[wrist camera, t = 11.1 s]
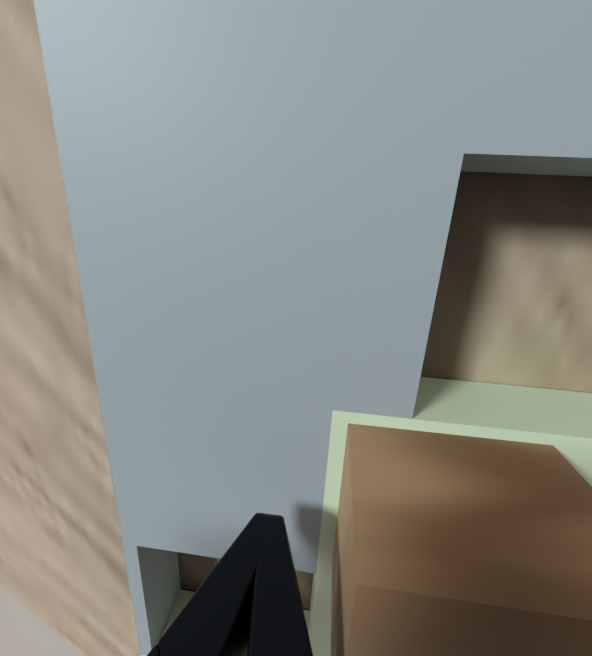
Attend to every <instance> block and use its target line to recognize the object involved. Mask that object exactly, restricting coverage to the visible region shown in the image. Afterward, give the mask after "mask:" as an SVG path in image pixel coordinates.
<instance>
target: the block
mask: <svg viewBox="0 0 592 656" xmlns="http://www.w3.org/2000/svg"><path fill="white" fill-rule="evenodd" d="M331 656H592V486H591V485H590V484H589V483H588V482H587V481H586V480H585V479H584V478H583V477H582V476H581V475H580V474H579V473H578V471H577V470H576V469H575V468H574V467H573V466H572V465H571V464H570V463H569V462H568V461H567V460H566V459H565V458H564V457H563V455H562V454H561V453H560V452H559V451H558V450H557V449H556V448H555V447H554V446H553V445H545V444H535V443H526V442H517V441H508V440H498V439H489V438H480V437H471V436H461V435H452V434H443V433H434V432H425V431H415V430H406V429H397V428H388V427H378V426H369V425H360V424H351V423H348V428H347V436H346V445H345V454H344V462H343V471H342V479H341V488H340V497H339V505H338V514H337V523H336V531H335V540H334V549H333V557H332V607H331Z"/></svg>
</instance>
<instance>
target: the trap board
mask: <svg viewBox="0 0 592 656" xmlns="http://www.w3.org/2000/svg"><path fill="white" fill-rule="evenodd" d="M34 6H35V12H36V19H37V25H38V31H39V37H40V43H41V49H42V55H43V61H44V67H45V74H46V80H47V86H48V92H49V98H50V104H51V110H52V116H53V122H54V129H55V135H56V141H57V147H58V153H59V159H60V165H61V171H62V177H63V184H64V190H65V196H66V202H67V208H68V214H69V220H70V226H71V232H72V239H73V245H74V251H75V257H76V263H77V269H78V275H79V281H80V287H81V294H82V300H83V306H84V312H85V318H86V324H87V330H88V336H89V342H90V349H91V355H92V361H93V367H94V373H95V379H96V385H97V391H98V397H99V404H100V410H101V416H102V422H103V428H104V434H105V440H106V446H107V452H108V459H109V465H110V471H111V477H112V483H113V489H114V495H115V501H116V507H117V514H118V520H119V526H120V532H121V538H122V544H123V550H124V556H125V562H126V569H127V575H128V581H129V587H130V593H131V599H132V605H133V611H134V617H135V624H136V630H137V636H138V642H139V648H140V654H141V656H147V655H148V653H149V652H150V651H151V649H152V648H153V647H154V646H155V645H156V644H158V641H159V639H160V638H161V637H162V635H163V634H164V633H165V631H166V630H167V629H168V627H169V626H170V625H171V623H172V622H173V621H174V620H175V618H176V617H177V616H178V614H179V613H180V612H181V610H182V609H183V608H184V606H185V605H186V604H187V602H188V601H189V600H190V599H191V597H192V596H193V595H194V593H195V592H193V591H187V590H181V586H180V575H179V564H178V553H177V552H180V553H187V554H193V555H199V556H206V557H212V558H219V559H221V558H222V556H223V555H224V554H225V553H226V551H227V550H228V549H229V547H230V546H231V545H232V543H233V542H234V541H235V539H236V538H237V537H238V535H239V534H240V533H241V532H242V530H243V529H244V528H245V526H246V525H247V524H248V522H249V521H250V520H251V518H252V517H253V516H254V515H255V514H256V513H266V514H274V515H281V516H283V517H284V521H285V526H286V530H287V535H288V540H289V544H290V549H291V554H292V559H293V563H294V568H295V570H296V571H303V572H309V573H313V582H312V592H311V603H310V611H308V610H304V615H305V620H306V624H307V629H308V634H309V639H310V643H311V648H312V653H313V656H331V607H332V557H333V549H334V540H335V531H336V523H337V514H338V505H339V497H340V488H341V479H342V471H343V462H344V454H345V445H346V436H347V428H348V423H351V424H360V425H369V426H378V427H388V428H397V429H406V430H415V431H425V432H434V433H443V434H452V435H461V436H471V437H480V438H489V439H498V440H508V441H517V442H526V443H535V444H545V445H553V446H554V447H555V448H556V449H557V450H558V451H559V452H560V453H561V454H562V455H563V457H564V458H565V459H566V460H567V461H568V462H569V463H570V464H571V465H572V466H573V467H574V468H575V469H576V470H577V471H578V473H579V474H580V475H581V476H582V477H583V478H584V479H585V480H586V481H587V482H588V483H589V484H590V485H591V486H592V393H583V392H573V391H562V390H552V389H542V388H532V387H521V386H511V385H501V384H491V383H480V382H470V381H460V380H450V379H439V378H429V377H420V376H421V371H422V366H423V361H424V356H425V351H426V346H427V340H428V335H429V330H430V325H431V320H432V315H433V310H434V304H435V299H436V294H437V289H438V284H439V279H440V274H441V269H442V263H443V258H444V253H445V248H446V243H447V238H448V233H449V228H450V222H451V217H452V212H453V207H454V202H455V197H456V192H457V187H458V181H459V176H460V171H467V172H491V173H515V174H539V175H564V176H588V177H592V0H34Z"/></svg>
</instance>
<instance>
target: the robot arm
mask: <svg viewBox="0 0 592 656" xmlns="http://www.w3.org/2000/svg"><path fill="white" fill-rule="evenodd" d="M147 656H313V653H312V648H311V643H310V639H309V634H308V629H307V624H306V620H305V615H304V610H303V606H302V601H301V596H300V592H299V587H298V582H297V577H296V573H295V568H294V563H293V559H292V554H291V549H290V544H289V540H288V535H287V530H286V526H285V521H284V517H283V516H281V515H274V514H266V513H256V514H255V515H254V516H253V517H252V518H251V520H250V521H249V522H248V524H247V525H246V526H245V528H244V529H243V530H242V532H241V533H240V534H239V535H238V537H237V538H236V539H235V541H234V542H233V543H232V545H231V546H230V547H229V549H228V550H227V551H226V553H225V554H224V555H223V556H222V558H221V559H220V560H219V562H218V563H217V564H216V566H215V567H214V568H213V570H212V571H211V572H210V574H209V575H208V576H207V577H206V579H205V580H204V581H203V583H202V584H201V585H200V587H199V588H198V589H197V591H196V592H195V593H194V595H193V596H192V597H191V599H190V600H189V601H188V602H187V604H186V605H185V606H184V608H183V609H182V610H181V612H180V613H179V614H178V616H177V617H176V618H175V620H174V621H173V622H172V623H171V625H170V626H169V627H168V629H167V630H166V631H165V633H164V634H163V635H162V637H161V638H160V639H159V641H158V644H156V645H155V646H154V647H153V648H152V649H151V651H150V652H149V653H148V655H147Z"/></svg>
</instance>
